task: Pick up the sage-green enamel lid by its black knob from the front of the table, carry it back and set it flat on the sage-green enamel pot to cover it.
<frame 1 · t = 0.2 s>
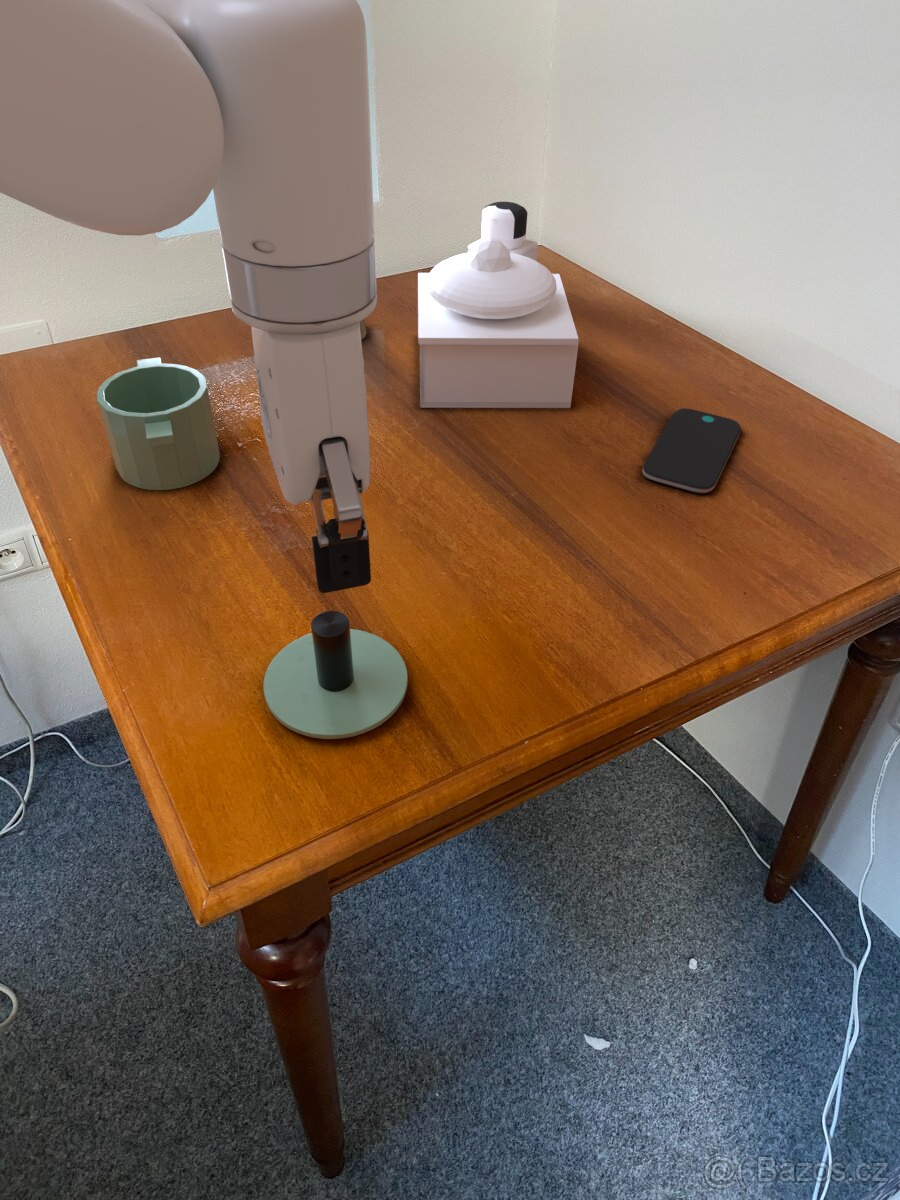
hand: (327, 537, 56), 17 cm above the table, tool pointing down, fingers open, 9 cm apart
pot lid: (336, 682, 69), point 1 cm above the table
smartphone: (691, 453, 95), on the table
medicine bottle: (499, 295, 124), on the table
pot: (169, 461, 92), on the table
white box: (490, 373, 107), on the table
olive pawn: (343, 334, 114), on the table
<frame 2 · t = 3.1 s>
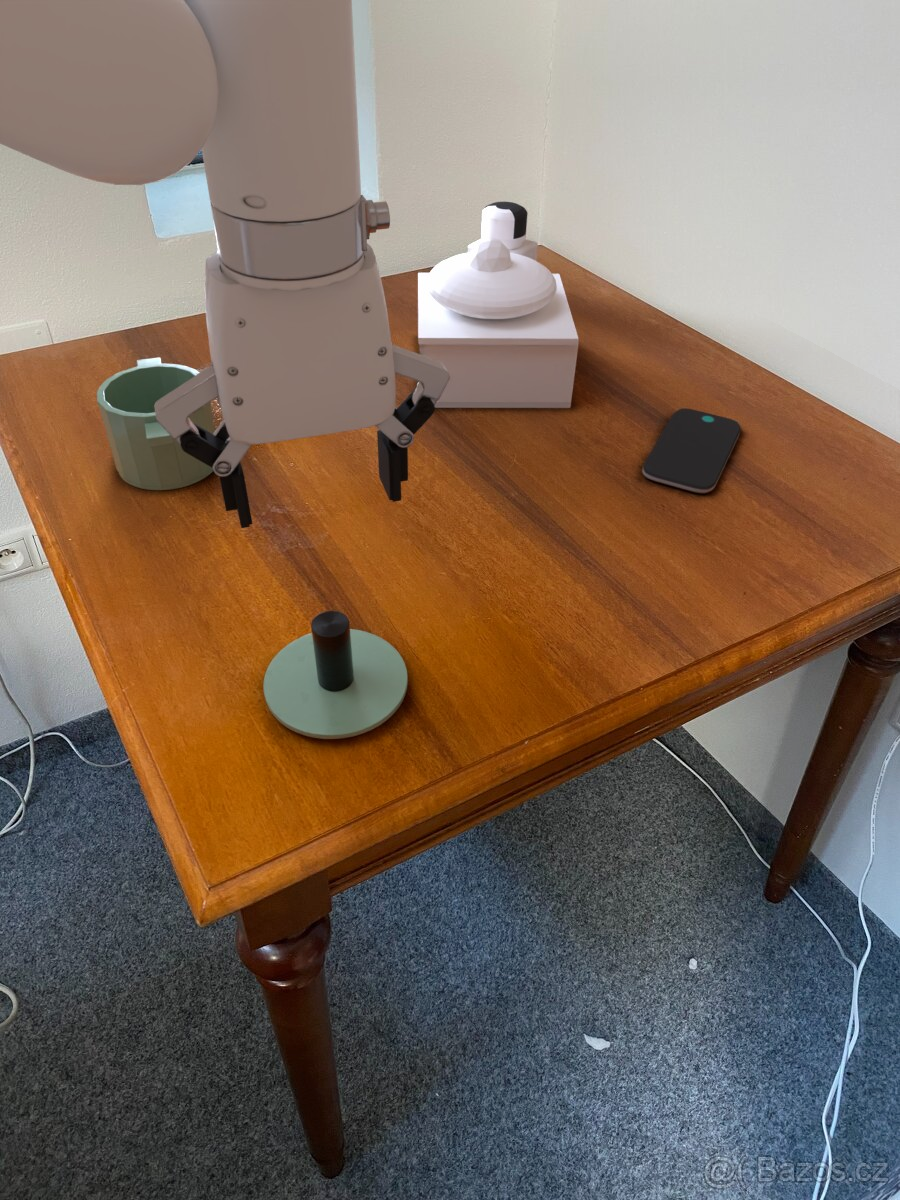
hand: (318, 502, 57), 18 cm above the table, tool pointing down, fingers open, 9 cm apart
nothing on the table moved.
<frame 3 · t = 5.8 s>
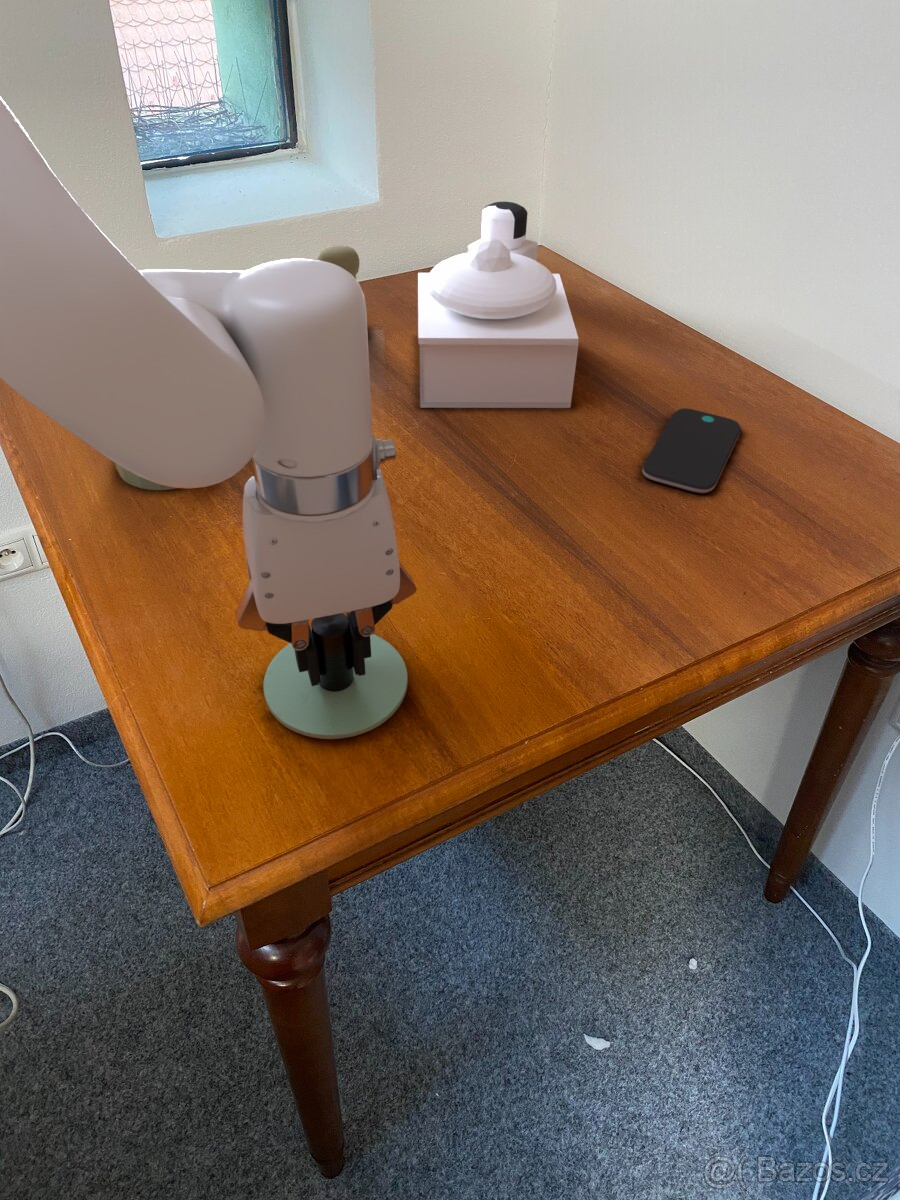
hand: (334, 666, 67), 3 cm above the table, tool pointing down, fingers closed on pot lid, 2 cm apart
pot lid: (336, 682, 69), point 1 cm above the table, touching gripper
everything else where it was.
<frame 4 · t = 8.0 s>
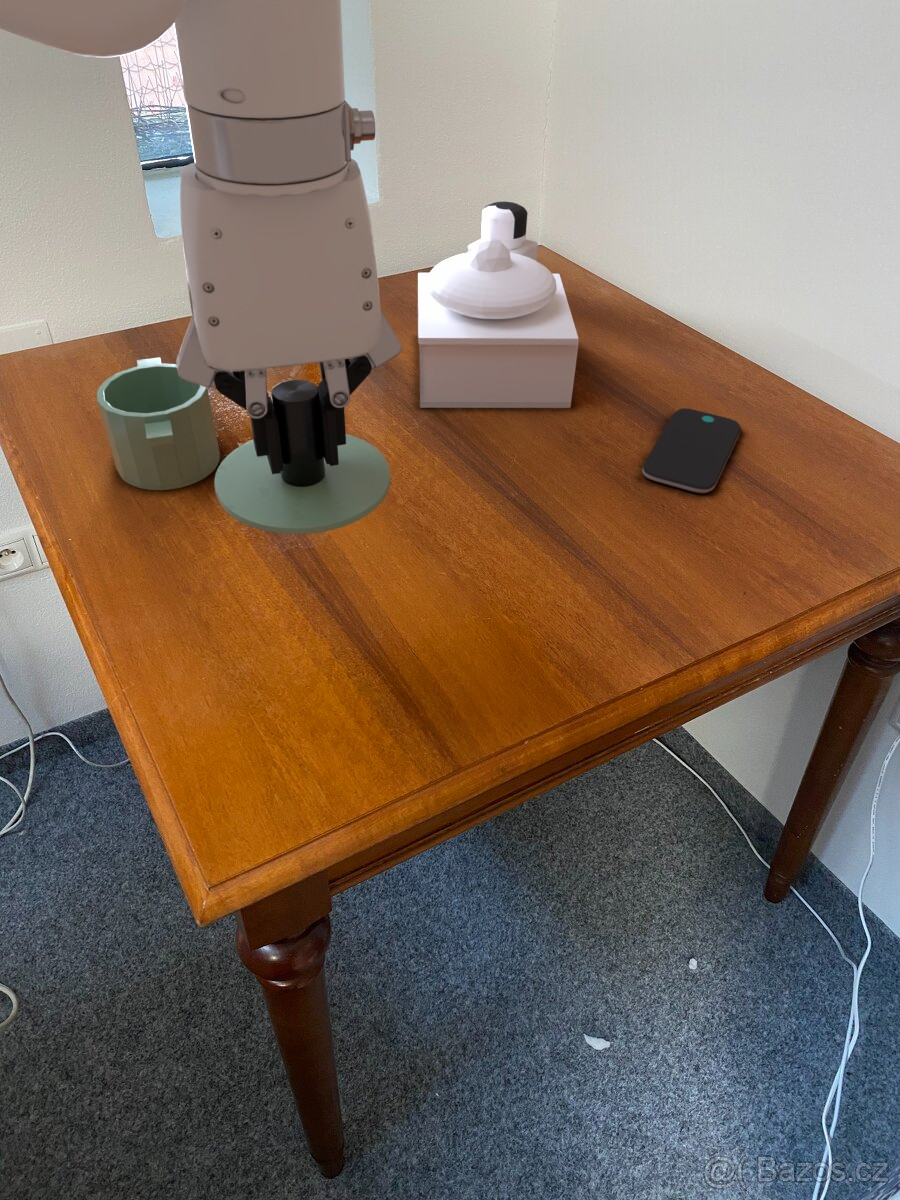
hand: (301, 455, 55), 21 cm above the table, tool pointing down, fingers closed on pot lid, 2 cm apart
pot lid: (303, 481, 57), point 19 cm above the table, touching gripper
everything else where it was.
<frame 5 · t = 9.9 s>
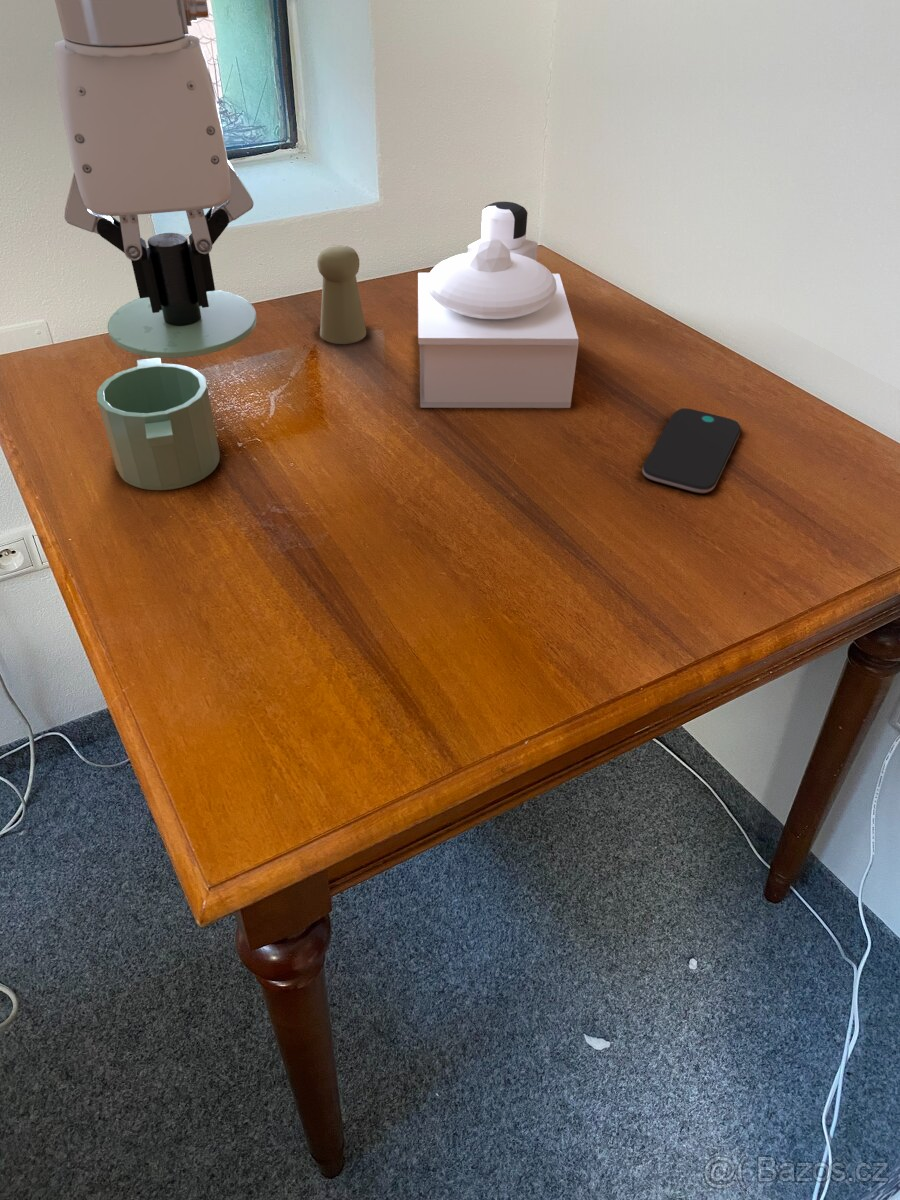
hand: (179, 300, 67), 23 cm above the table, tool pointing down, fingers closed on pot lid, 2 cm apart
pot lid: (184, 324, 68), point 21 cm above the table, touching gripper
everything else where it was.
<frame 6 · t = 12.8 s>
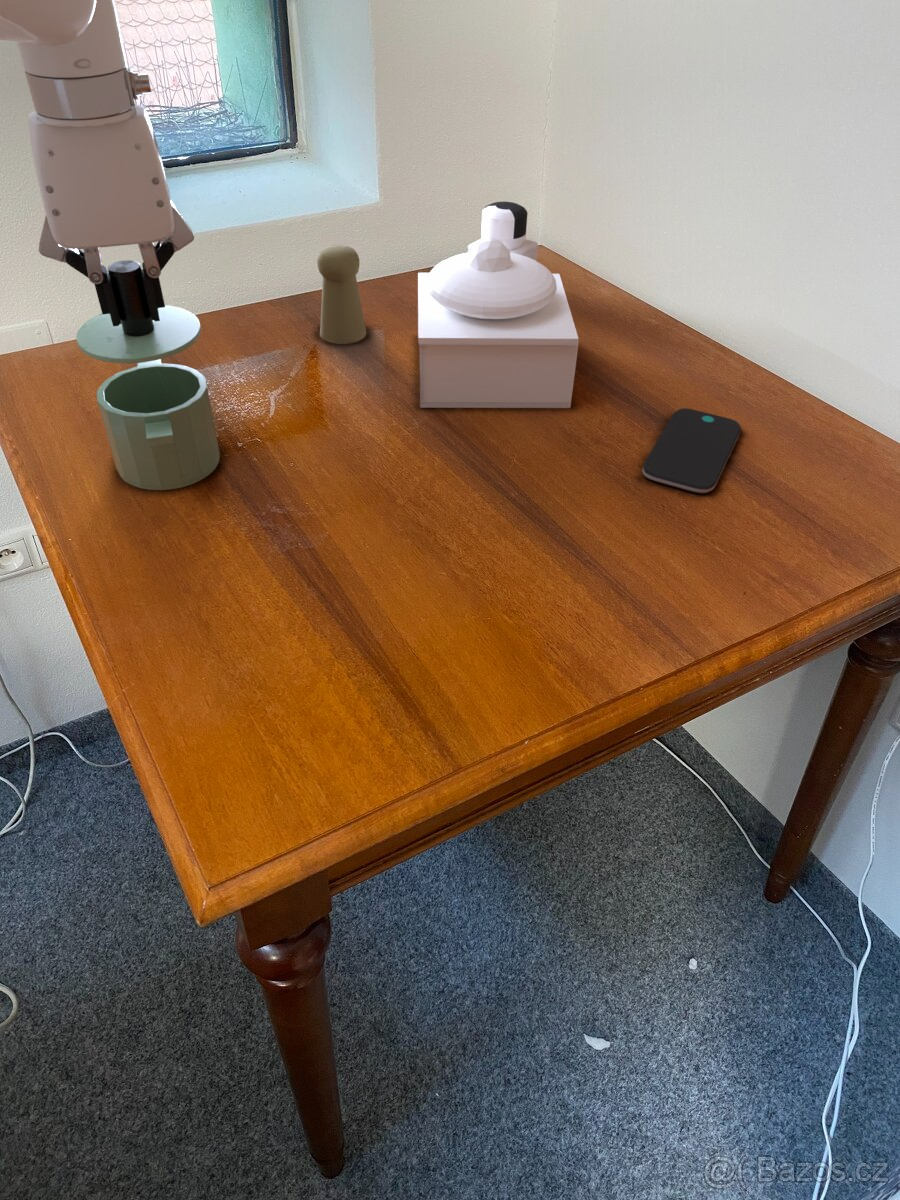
hand: (135, 315, 81), 16 cm above the table, tool pointing down, fingers closed on pot lid, 2 cm apart
pot lid: (140, 334, 82), point 14 cm above the table, touching gripper
everything else where it was.
when the fingers open (10 cm above the table, at t = 14.4 s): pot lid stays where it is, resting on pot.
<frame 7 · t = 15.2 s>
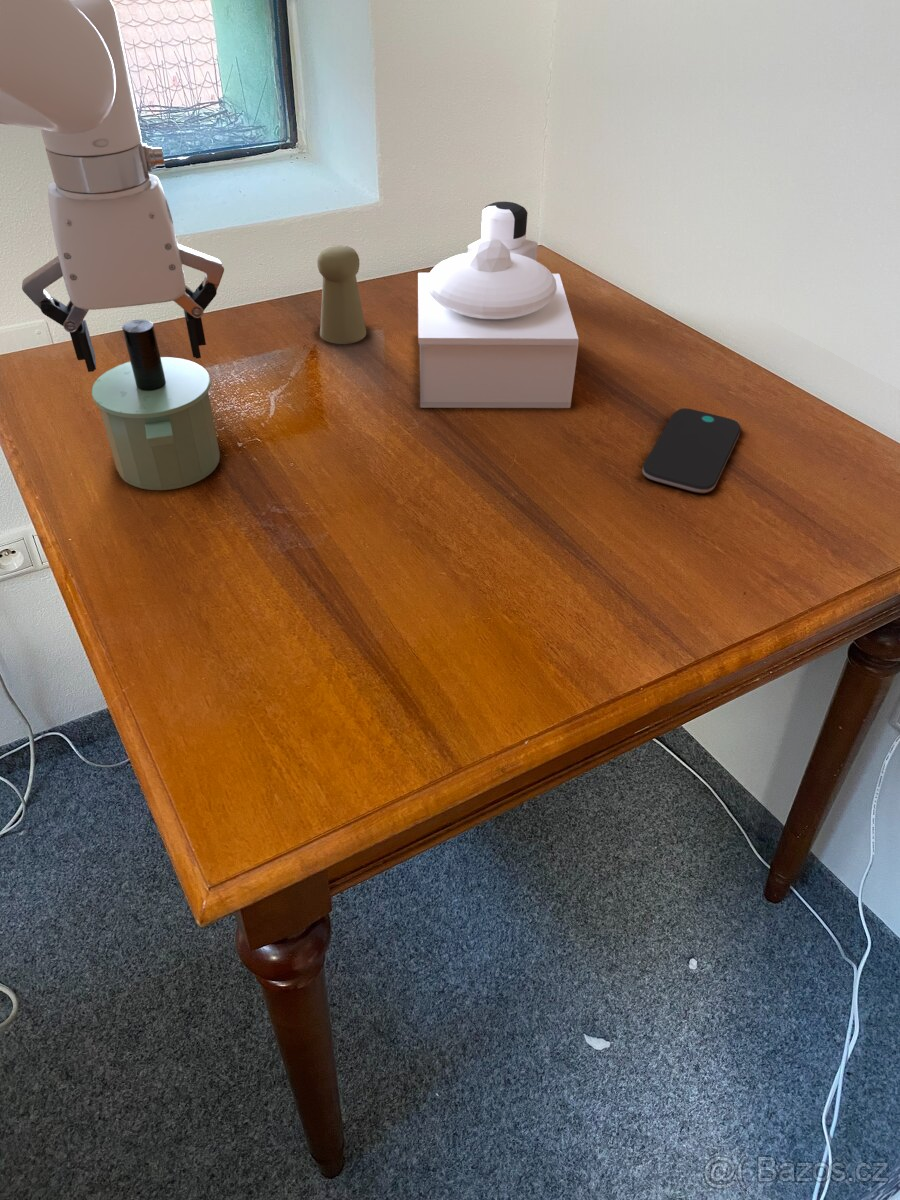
hand: (144, 358, 84), 12 cm above the table, tool pointing down, fingers open, 9 cm apart
pot lid: (152, 388, 86), point 8 cm above the table, touching pot
everything else where it was.
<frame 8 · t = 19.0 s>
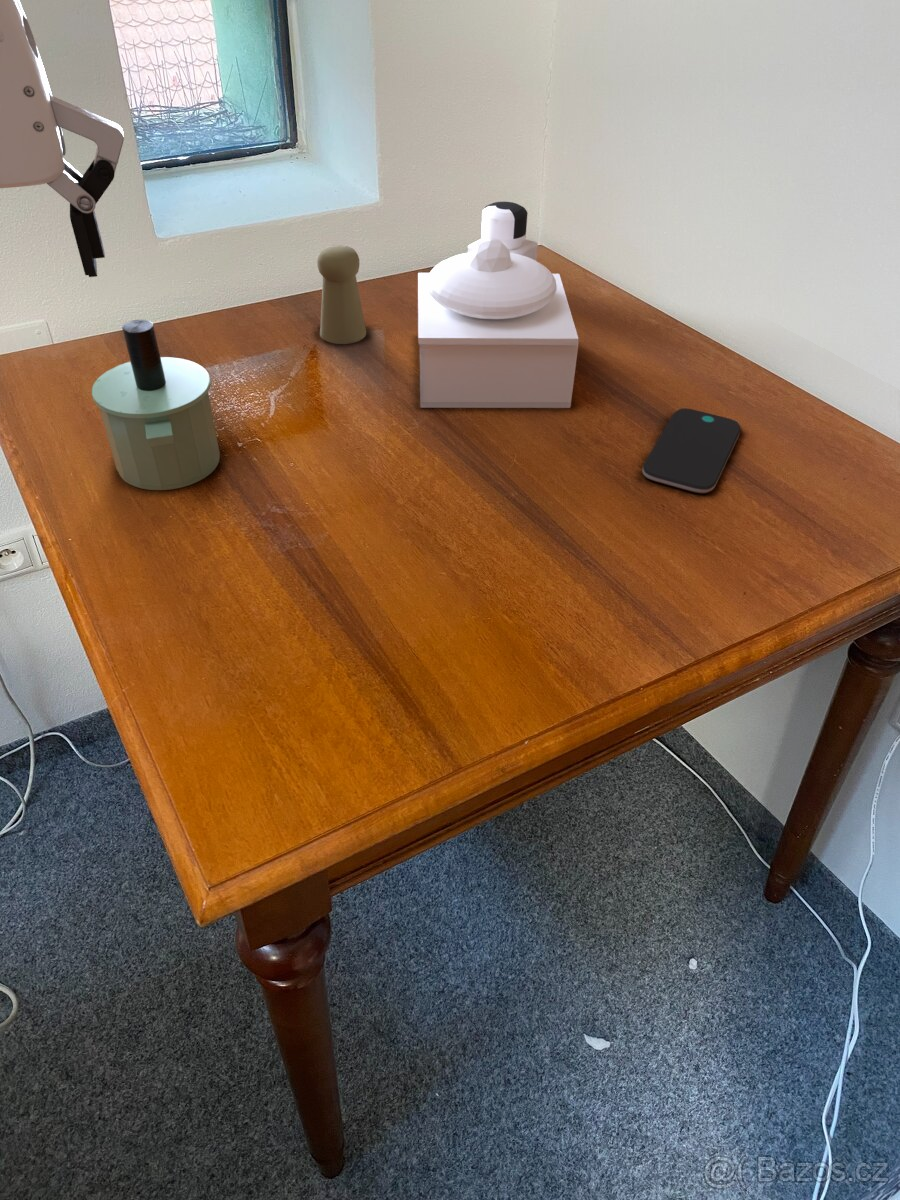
hand: (14, 276, 57), 28 cm above the table, tool pointing down, fingers open, 9 cm apart
nothing on the table moved.
at the end: pot lid 0.0 cm off-centre on the pot, point 8.5 cm above the pot's base; pot lid tilted 0° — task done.
